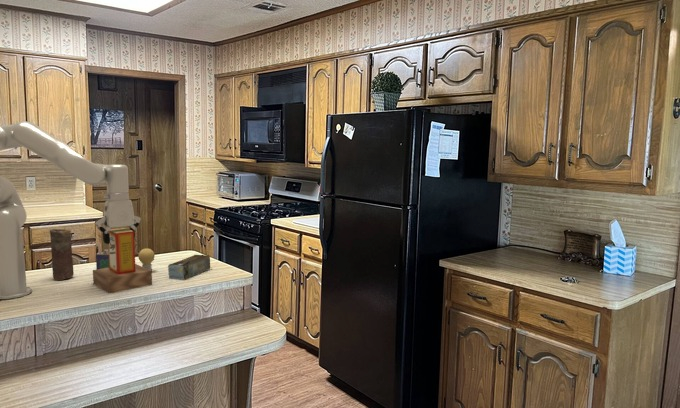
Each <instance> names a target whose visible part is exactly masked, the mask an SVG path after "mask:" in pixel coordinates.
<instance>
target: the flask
mask: <svg viewBox="0 0 680 408" xmlns="http://www.w3.org/2000/svg"><path fill="white" fill-rule="evenodd" d="M95 260H96V261H95V263H96V264H95V265H96V269H95V270H97V269H103V268H109V251H108V248H107V249H104V252H103V251H100V252H97V253H95Z"/></svg>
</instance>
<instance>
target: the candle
mask: <svg viewBox="0 0 680 408" xmlns="http://www.w3.org/2000/svg"><path fill="white" fill-rule="evenodd" d="M71 233H72V232H71V230H69V229H66V228H63V229H57V228H51V229H49V235H50V249H51V250H50V251H51V264H52V265H51V268H52V279H53V281H63V280H67V279H70V278H72V277H73V276H74V274H75V273H74V259H73V248H72V236H71Z"/></svg>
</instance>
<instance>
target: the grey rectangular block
mask: <svg viewBox="0 0 680 408" xmlns="http://www.w3.org/2000/svg"><path fill="white" fill-rule="evenodd" d="M167 267H168V279H173V280H181V281H183V280H184V281H185V280H187V279H190V278H192V277H194V276H197V275H199V274H201V273H203V272H206V271H208V270H210V269H211V257H210V255H208V254H207V255H205V254H194V255H191V256H188V257H186V258H183V259H181V260H179V261H176V262H173V263H170V264H168V266H167Z"/></svg>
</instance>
